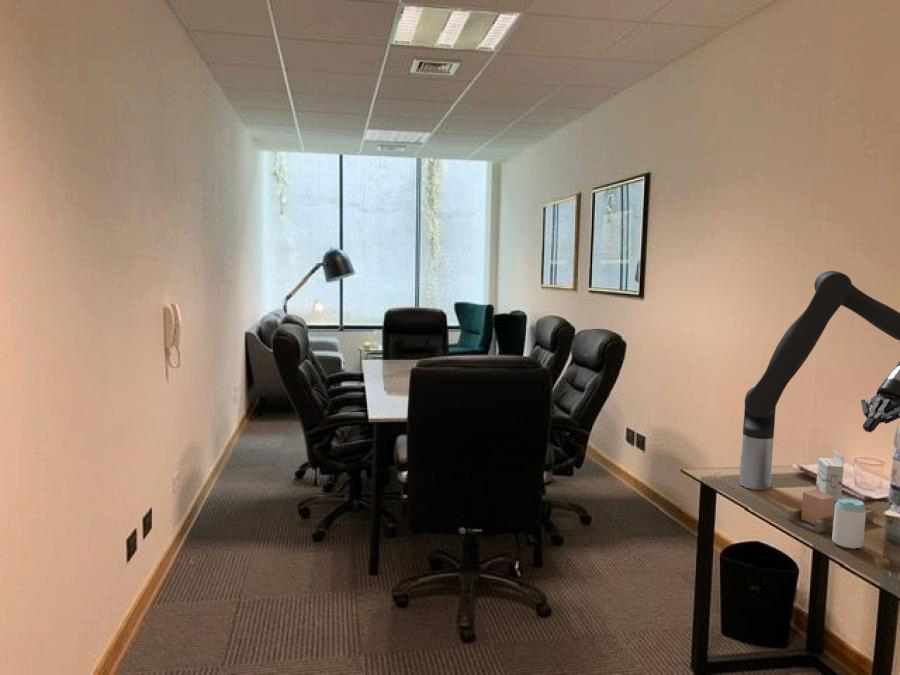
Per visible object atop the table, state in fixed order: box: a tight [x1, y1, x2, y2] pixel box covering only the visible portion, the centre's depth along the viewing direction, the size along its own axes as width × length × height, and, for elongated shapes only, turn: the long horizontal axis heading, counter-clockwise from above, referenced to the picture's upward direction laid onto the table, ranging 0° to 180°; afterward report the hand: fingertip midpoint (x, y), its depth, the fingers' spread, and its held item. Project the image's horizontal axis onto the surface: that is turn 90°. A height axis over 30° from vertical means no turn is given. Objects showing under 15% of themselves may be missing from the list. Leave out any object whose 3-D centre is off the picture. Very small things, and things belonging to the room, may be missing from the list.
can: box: [831, 496, 867, 550], centre depth 173 cm, size 7×7×12 cm
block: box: [801, 489, 835, 525], centre depth 186 cm, size 5×6×8 cm
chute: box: [788, 501, 875, 535], centre depth 189 cm, size 22×9×3 cm, turn 112°
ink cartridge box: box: [815, 449, 844, 502], centre depth 207 cm, size 9×5×15 cm, turn 168°
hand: (866, 430), depth 190 cm, fingers closed
